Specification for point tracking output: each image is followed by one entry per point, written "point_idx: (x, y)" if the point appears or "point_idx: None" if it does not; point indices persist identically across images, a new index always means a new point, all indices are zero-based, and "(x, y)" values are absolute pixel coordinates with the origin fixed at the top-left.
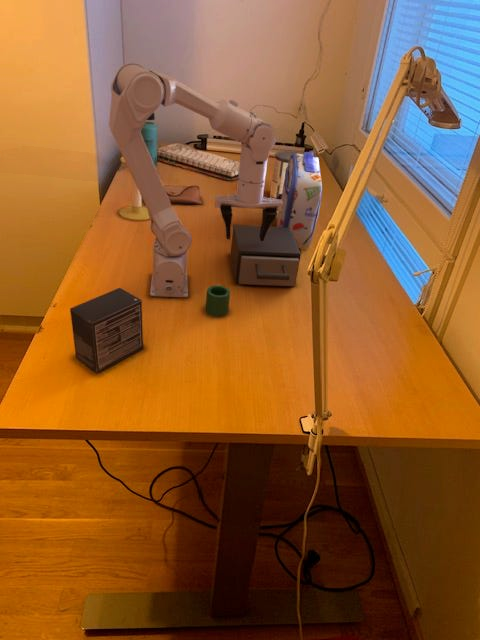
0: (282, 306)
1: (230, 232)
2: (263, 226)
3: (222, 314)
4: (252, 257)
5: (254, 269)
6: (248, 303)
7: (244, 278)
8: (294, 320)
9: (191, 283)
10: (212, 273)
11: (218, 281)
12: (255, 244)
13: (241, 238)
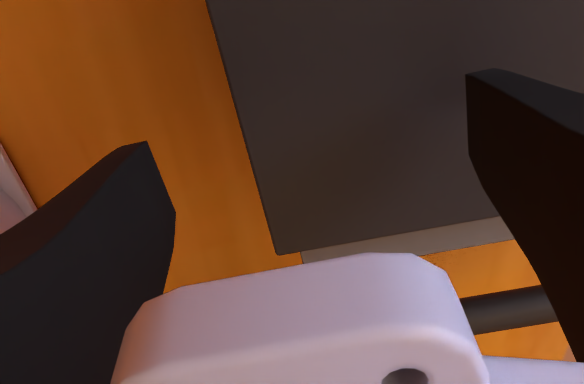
0: (505, 251)
1: (165, 280)
2: (538, 247)
3: None
4: (380, 250)
5: None
6: None
7: None
8: None
9: (49, 182)
10: (117, 44)
11: (178, 125)
12: (412, 116)
13: (268, 24)
